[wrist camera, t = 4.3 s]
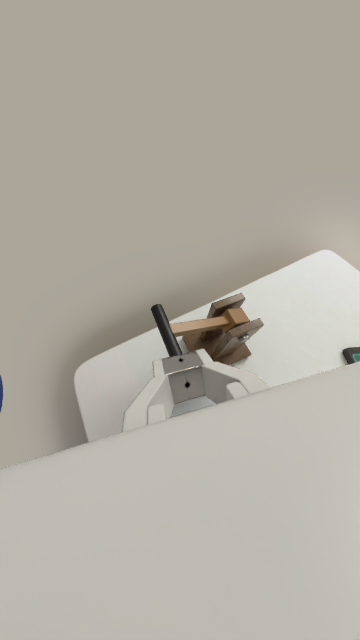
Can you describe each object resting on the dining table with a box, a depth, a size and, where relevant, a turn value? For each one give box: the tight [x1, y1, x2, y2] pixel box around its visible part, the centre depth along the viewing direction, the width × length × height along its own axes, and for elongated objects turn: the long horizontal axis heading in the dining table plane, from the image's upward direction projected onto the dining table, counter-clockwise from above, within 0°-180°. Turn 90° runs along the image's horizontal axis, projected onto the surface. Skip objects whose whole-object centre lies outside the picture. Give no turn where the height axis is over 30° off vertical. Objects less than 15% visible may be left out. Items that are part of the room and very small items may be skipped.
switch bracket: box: [183, 293, 264, 365], centre depth 26 cm, size 10×8×13 cm
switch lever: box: [151, 304, 250, 357], centre depth 20 cm, size 12×6×2 cm, turn 113°
